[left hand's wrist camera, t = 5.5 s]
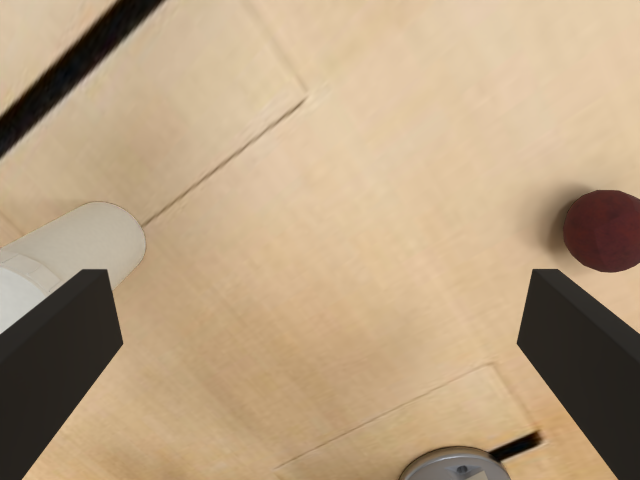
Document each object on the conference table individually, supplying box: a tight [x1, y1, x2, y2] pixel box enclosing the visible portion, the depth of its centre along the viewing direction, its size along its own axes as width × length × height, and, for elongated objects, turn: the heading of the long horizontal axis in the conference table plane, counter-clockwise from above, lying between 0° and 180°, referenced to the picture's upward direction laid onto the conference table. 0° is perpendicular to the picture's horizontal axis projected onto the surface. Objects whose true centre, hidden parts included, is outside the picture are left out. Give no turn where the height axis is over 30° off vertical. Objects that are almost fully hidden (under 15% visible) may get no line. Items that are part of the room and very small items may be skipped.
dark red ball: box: [563, 190, 640, 273], centre depth 38 cm, size 7×8×7 cm
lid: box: [0, 251, 64, 334], centre depth 28 cm, size 9×9×2 cm
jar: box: [0, 202, 146, 291], centre depth 35 cm, size 8×8×15 cm
